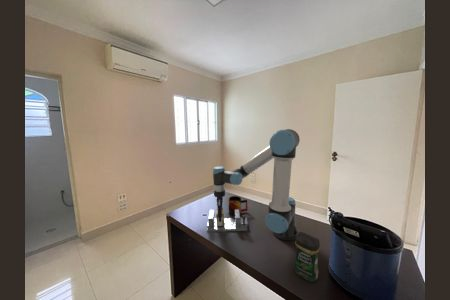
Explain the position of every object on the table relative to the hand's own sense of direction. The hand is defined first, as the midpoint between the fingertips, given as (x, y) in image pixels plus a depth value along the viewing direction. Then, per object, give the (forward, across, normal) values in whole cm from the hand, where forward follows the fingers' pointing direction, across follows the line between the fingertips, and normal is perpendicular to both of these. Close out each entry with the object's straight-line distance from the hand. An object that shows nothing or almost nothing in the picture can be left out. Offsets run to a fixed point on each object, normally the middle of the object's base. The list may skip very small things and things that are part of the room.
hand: (220, 222), depth 117 cm
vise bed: (+3, 0, +4) cm, 5 cm away
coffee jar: (+3, +39, +40) cm, 56 cm away
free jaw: (+1, 0, +14) cm, 14 cm away
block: (0, 0, 0) cm, 0 cm away
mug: (+3, -17, +12) cm, 21 cm away
